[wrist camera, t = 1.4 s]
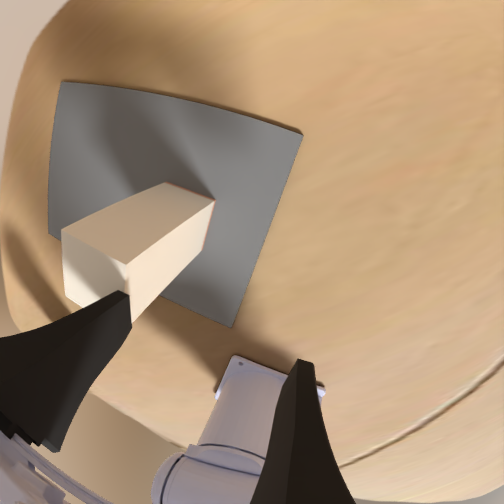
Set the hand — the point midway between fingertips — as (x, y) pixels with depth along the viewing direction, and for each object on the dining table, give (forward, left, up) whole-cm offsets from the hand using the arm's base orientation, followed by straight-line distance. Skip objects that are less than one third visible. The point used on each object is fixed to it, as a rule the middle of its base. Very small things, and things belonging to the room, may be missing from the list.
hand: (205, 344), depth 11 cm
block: (+6, 0, -10) cm, 12 cm away
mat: (+11, 0, -11) cm, 15 cm away
